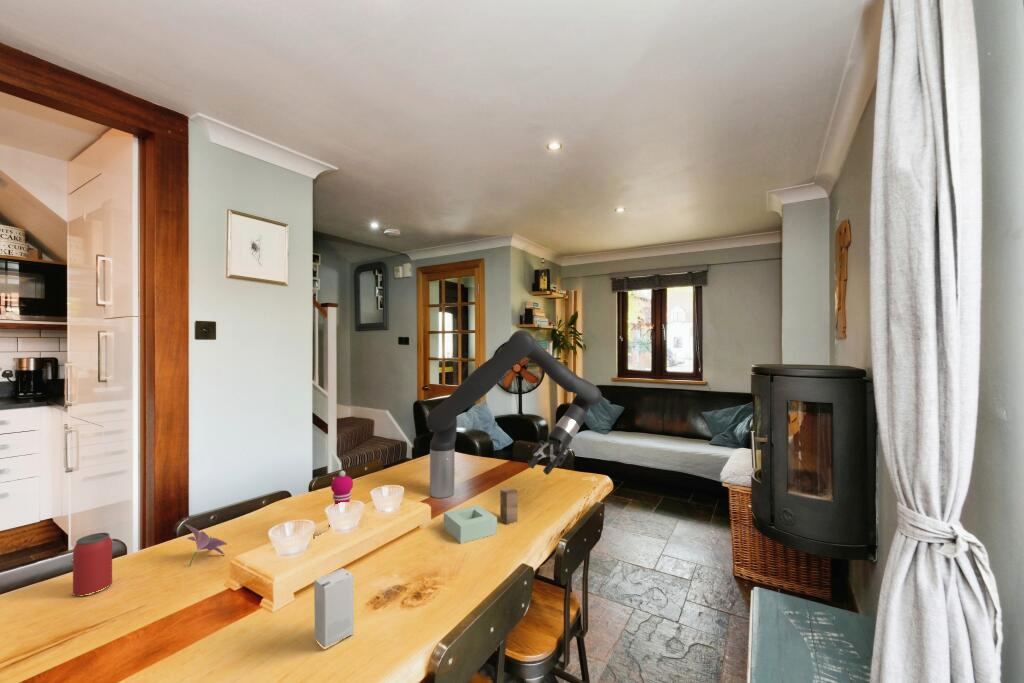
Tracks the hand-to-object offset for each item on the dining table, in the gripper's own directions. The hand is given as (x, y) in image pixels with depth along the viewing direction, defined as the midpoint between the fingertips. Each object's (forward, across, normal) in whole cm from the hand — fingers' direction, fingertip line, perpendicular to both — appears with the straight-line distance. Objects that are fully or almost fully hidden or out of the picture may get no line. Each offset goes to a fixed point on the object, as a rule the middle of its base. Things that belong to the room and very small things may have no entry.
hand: (537, 470), depth 145 cm
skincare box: (+60, +29, -39) cm, 77 cm away
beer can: (+91, -19, -70) cm, 116 cm away
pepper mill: (+52, -15, -32) cm, 63 cm away
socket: (+28, 0, -8) cm, 29 cm away
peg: (+18, 0, +2) cm, 19 cm away
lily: (+76, -22, -55) cm, 96 cm away
